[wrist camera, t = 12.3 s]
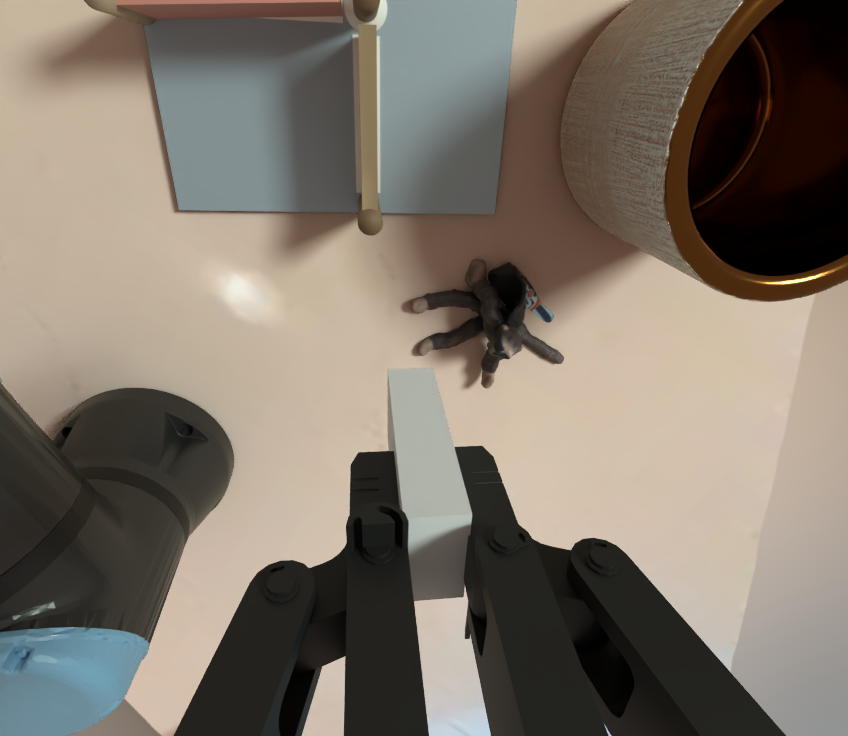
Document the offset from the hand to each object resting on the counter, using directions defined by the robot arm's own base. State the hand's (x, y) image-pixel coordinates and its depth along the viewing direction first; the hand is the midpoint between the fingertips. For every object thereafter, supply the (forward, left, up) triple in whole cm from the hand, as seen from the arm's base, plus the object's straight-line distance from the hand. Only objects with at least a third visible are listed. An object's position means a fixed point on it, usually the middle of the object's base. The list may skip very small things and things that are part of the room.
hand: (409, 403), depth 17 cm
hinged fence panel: (-9, +13, -25) cm, 30 cm away
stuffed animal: (+10, -9, -27) cm, 30 cm away
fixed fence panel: (-1, +8, -26) cm, 28 cm away
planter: (+22, +8, -27) cm, 35 cm away
